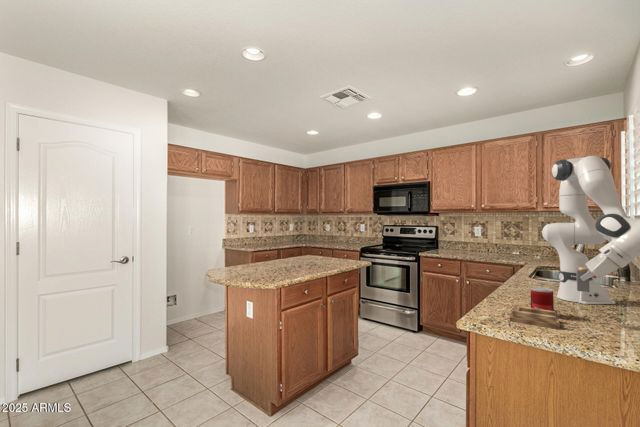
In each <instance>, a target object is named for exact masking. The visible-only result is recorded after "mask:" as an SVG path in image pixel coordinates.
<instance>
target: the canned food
mask: <svg viewBox="0 0 640 427" xmlns="http://www.w3.org/2000/svg"><path fill="white" fill-rule="evenodd" d="M554 298H555V297H554V289H553V288H548V287H545V286H543V287H542V286H532V287H530V308H535V309H542V310H549V311H554V310H555V309H554V304H555V303H554V301H555V300H554Z"/></svg>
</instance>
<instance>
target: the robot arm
mask: <svg viewBox="0 0 640 427" xmlns="http://www.w3.org/2000/svg"><path fill="white" fill-rule="evenodd" d="M611 169H612V165H611V162H610V160H609V159H608V158H606V157H603V156H597V155H587V156H585V157H583V156H582V157H576V158H568V159H559V160H557V161H555V162H554V163H553V165H552V168H551V176H552V177H553V179H554V180H556V181H559V182H560V184H559V191H558V192H559V194H558V202H559V203H558V206H559V211H560V212H561V213H562V215H563V214H564V215H565V216H568V217H570V218H573V219H574V220H575V221H574V222H554V223H553V222H552V223H547V224H545V225H544V227H543V228H542V229H541V230H542V231H541V235H542V238H543V240H544V241H546V242H547V243H549V244H550V245H551V246H552V247H554V249H555V251H556V252H557V254H558V258H559V266H560V267H559V268H560V269H559V271H558V272H559V273H558V274H559V275H558V277H559V278H558V280H559V286H558V291H557V295H556V298H558V299H560V300H564V301H568V302H574V303H579V304H583V305H616V300H614V299H612V298H610V296H609V292H608V289H606V288H605V287H603V286H602V285H601V284H599V283H598V282H596V281H595V280H593V279H602V278H604V277H606V276H607V275H609V274H610V275H611V274H612V273H613V272H615V271H616V270H618V269H620V268H621V269H623V268H625V267H626V266H628V264H629V263H631V262H633V261H634V260H635V259H636V258H637V257H638V256H639V255H640V219H634V218H630V217H628V215H627V214H626V212H625V210H624V207H623V205H622V203H621V200H620V197H619V195H618V191H617V187H616V183H615V180H614V176H613V174H612V171H611ZM588 198H590V199H591V201H593V202H594V203H595V204H596V205H597V206H598V207H599V209H601V211H602V213H603V215H602V216H600V217H599V218H598V219H597V220H596V219H595V218H594V217H593V216H592V215H591V213H590V210H589V202H588ZM606 241H608V243H606V244H605V245H604V246H602V247H600V249H598V251H599V252H600V253H599V254H597V255H595V256H594V257H593V258H591V259H590V260H589V258H588V256H587V255H586V254H585V253H583V252H581V251H578V250H576V249H574V248H573V247H572V245H587V246H588V245H589V246H590V245H598V244H599V245H601V244H603V243H605V242H606ZM579 267H584V268H587V270H588V272H587V273H585V274H584V275H582V276H580V279H581V280H583V281H585V280H587V279H588V278H589V292H583V291H577V274H576V270H579Z"/></svg>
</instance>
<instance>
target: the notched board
mask: <svg viewBox="0 0 640 427" xmlns="http://www.w3.org/2000/svg"><path fill="white" fill-rule="evenodd" d="M509 322H514V323H520V324H525V325H533V326H537V327H541V328H542V327H544V328H549V329H554V330H560V329H561V326H560V318H559V316H558V317H557V316H556V311H549V310H542V309H535V308H531V307H526V306H520V305H513V308H512V310H511V312H510V314H509Z"/></svg>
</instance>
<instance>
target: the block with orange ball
mask: <svg viewBox="0 0 640 427" xmlns="http://www.w3.org/2000/svg"><path fill="white" fill-rule="evenodd" d="M587 272H588V270H587V268H584V267H579V270H576V274H577V291H583V292H589V278H588V279H587V280H585V281H583V280H581V279H580V276H582V275H584V274H585V273H587Z"/></svg>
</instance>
